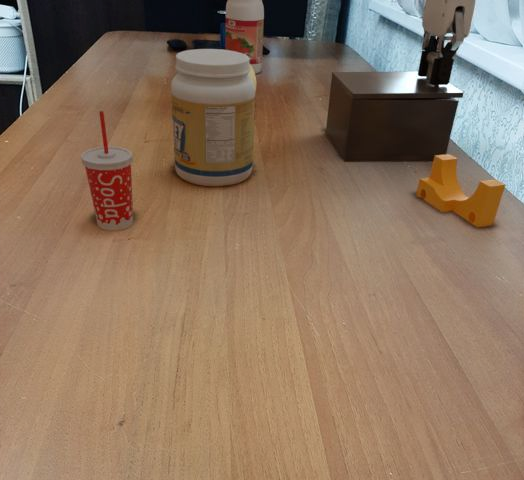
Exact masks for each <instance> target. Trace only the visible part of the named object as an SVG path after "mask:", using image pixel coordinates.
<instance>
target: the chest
mask: <svg viewBox="0 0 524 480" xmlns="http://www.w3.org/2000/svg"><path fill="white" fill-rule="evenodd" d="M329 89H330V90H329V99H328V101H329V102H328V107H327V118H326V125H325V126H326V127H325V135H326V136H327V138H328V139H329V141H330V143H331V144H332V146H333V147H334V148H335V150H336V151H337V152H338V154H339V156H340V157H341V159H342V160H343V162H433V161H434V156H435V155H444V154H447V152H448V148H449V145H450V144H449V143H450V139H451V135H452V131H453V128H454V122H455V120H456V119H455V118H456V114H457V110H458V106H459V102H460V100H459V99H458V98H395V99H352V98H351V97H350V96H349V95H348V93H347V92H346V91H345V90H344V89H343V88H342V87H341V86H340V85H339V84H338V83H337V82H336V81H335V80H334V79H333V77H332V76H331V80H330V88H329Z"/></svg>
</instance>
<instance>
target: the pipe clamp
mask: <svg viewBox="0 0 524 480" xmlns="http://www.w3.org/2000/svg"><path fill="white" fill-rule="evenodd" d="M457 164H458V157H456V156H454V155H453V154H451V153H446V154H444V155H435V156H434V161H432V165H431V169H430V174H429V177H422V178H419V180H418V184H417V188H416V193H415V197H419V198H421V199H422V200H423V201H425V202H426V203H427V204H429V205H431V206H432V207H433V208H435V209H436V210H438V211H440V212H441V213H447V212H453V213H455V214H456V215H458V216H460V217H461V218H463V220H465V221H467V222H469V223H470V224H471V225H473V226H474V227H476V228H483V227H489V226H494V222H495V220H496V216H497V213H498V210H499V207H500V204H501V200H502V197H503V195H504V190H505V187H506V184H505V183H503V182H502V181H500V180H498V179H496V178H494V179H487V180H479V182H478V185H477V187H476V189H475V191H474V193H473V194H472V195H470V196H468V195H467V194H465V192H464V191H463V190H462V188H461V186H460V184H459V180H458V174H457Z"/></svg>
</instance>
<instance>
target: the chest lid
mask: <svg viewBox="0 0 524 480" xmlns="http://www.w3.org/2000/svg"><path fill="white" fill-rule="evenodd" d="M434 58H437V53H435V52H430V53H428V55H427V57H426V60H427V62H428V63H429V65H428V70H427V75H426V77H420V76H418V71H332V72H331V78H332V77H333V79H334V80H335V81H336V82H337V83H338V84H339V85H340V86H341V87H342V88H343V89H344V90H345V91H346V92H347V93H348V95H349V96H350V97H351V98H352V99H395V98H456V99H461V98H462V99H463V98H464V91H462V90H460V89H459V88H457V87H456V86H454V85H452V84H451V83H449V84H448V85H432V84H430V78H431V73H432V68H433V63H434Z"/></svg>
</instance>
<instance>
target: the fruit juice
mask: <svg viewBox="0 0 524 480" xmlns="http://www.w3.org/2000/svg"><path fill="white" fill-rule="evenodd" d="M264 19H265V7H264V3H263V0H227V1H226V4H225V50H230V51H235V52H239V53H243V54H245V55H247V56H248V57H249V63H250V64H251V66H252V68H253V70H254V72H255V75H256V74H259V73H261V72H262V69H263V49H264V46H263V45H264V25H265V24H264V23H265V21H264Z"/></svg>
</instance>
